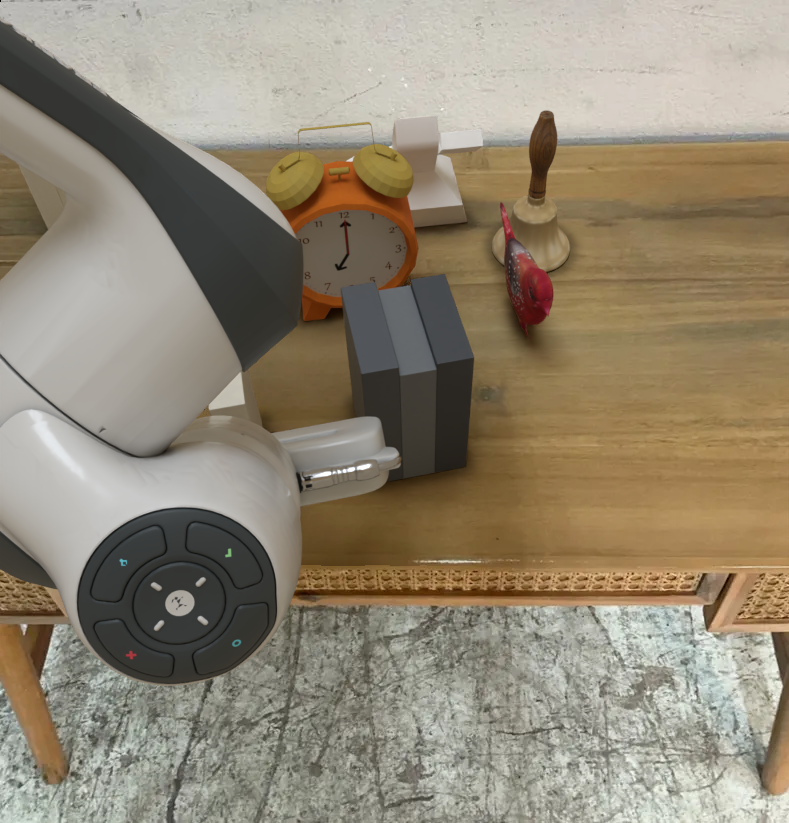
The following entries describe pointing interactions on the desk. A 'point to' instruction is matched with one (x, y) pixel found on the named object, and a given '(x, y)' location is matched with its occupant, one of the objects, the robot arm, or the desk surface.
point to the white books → (45, 196)
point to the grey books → (411, 371)
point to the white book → (237, 400)
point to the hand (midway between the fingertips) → (235, 454)
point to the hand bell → (538, 205)
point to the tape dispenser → (433, 168)
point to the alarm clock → (347, 220)
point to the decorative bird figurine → (525, 280)
